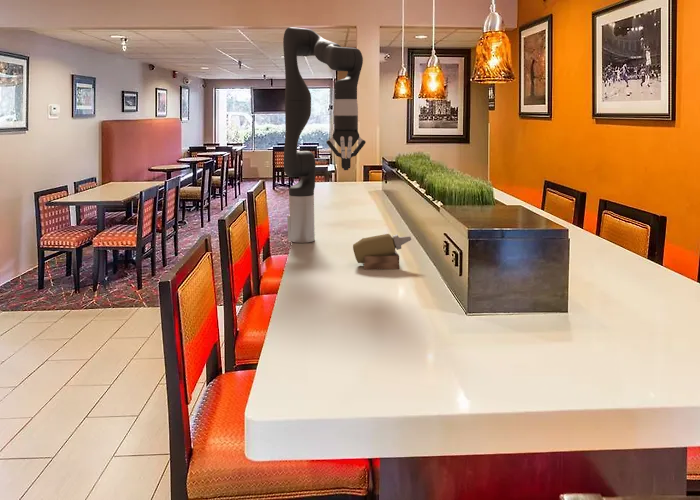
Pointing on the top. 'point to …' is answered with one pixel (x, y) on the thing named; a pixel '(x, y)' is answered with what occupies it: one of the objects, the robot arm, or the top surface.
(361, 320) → the top surface
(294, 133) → the robot arm
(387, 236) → the squeeze bottle
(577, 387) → the top surface
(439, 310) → the top surface
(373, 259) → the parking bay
